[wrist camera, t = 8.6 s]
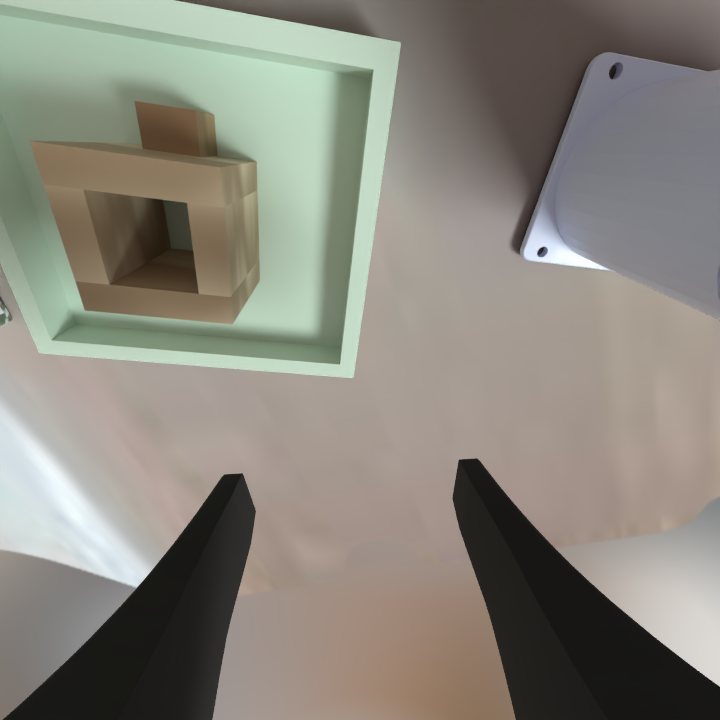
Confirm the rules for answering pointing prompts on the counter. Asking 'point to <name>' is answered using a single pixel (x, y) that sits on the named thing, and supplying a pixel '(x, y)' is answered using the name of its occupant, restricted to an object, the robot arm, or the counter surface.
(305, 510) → the counter surface
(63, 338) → the tray
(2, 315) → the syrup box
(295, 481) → the counter surface
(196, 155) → the tan wooden hollow block
